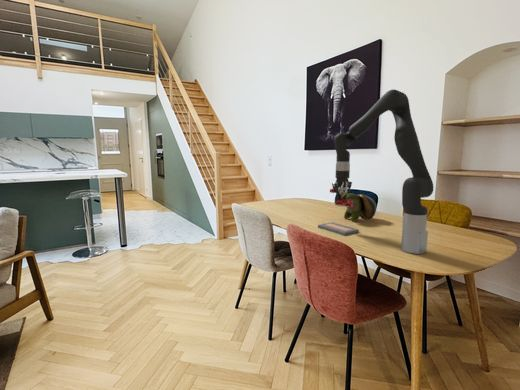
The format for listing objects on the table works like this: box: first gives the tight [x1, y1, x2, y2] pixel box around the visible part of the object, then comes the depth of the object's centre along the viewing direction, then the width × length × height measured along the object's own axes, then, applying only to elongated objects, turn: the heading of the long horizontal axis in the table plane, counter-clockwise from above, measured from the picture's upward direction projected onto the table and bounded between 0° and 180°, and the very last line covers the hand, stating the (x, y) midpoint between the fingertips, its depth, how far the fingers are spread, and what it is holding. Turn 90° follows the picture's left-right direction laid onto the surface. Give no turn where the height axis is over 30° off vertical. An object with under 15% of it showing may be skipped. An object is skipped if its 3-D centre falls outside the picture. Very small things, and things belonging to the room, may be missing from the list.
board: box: [317, 221, 360, 236], centre depth 163 cm, size 20×12×2 cm, turn 32°
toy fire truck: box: [329, 188, 353, 208], centre depth 160 cm, size 3×14×10 cm, turn 45°
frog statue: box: [343, 192, 377, 223], centre depth 185 cm, size 19×16×25 cm
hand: (341, 199), depth 160 cm, fingers closed on toy fire truck, 3 cm apart
